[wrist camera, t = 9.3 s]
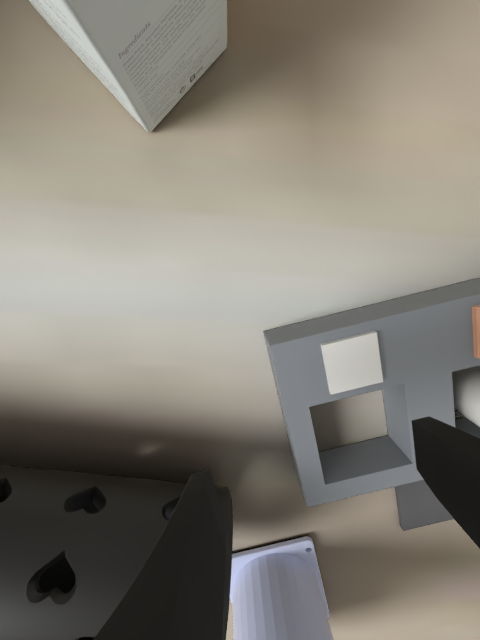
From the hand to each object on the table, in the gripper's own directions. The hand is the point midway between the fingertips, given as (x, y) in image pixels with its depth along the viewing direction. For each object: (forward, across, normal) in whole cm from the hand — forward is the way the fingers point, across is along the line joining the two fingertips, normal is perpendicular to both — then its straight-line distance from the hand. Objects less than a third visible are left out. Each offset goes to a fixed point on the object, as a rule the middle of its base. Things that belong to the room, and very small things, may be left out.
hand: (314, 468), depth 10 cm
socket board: (+10, -9, +4) cm, 14 cm away
